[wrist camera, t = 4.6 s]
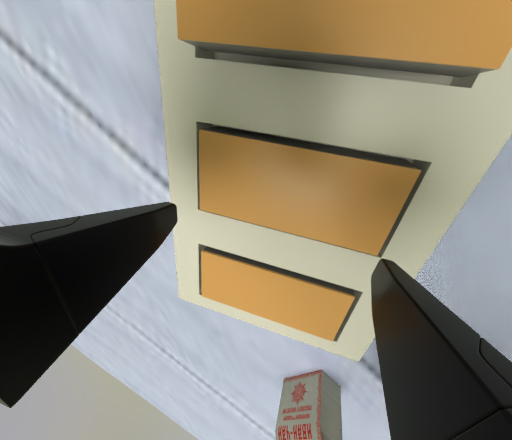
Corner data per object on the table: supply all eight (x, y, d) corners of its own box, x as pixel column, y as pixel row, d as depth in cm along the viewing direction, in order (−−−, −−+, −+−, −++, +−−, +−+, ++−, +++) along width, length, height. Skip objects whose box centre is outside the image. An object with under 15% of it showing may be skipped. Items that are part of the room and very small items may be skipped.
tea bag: (340, 386, 28) (344, 506, 20) (301, 393, 32) (290, 498, 23) (321, 369, 28) (318, 485, 19) (284, 378, 31) (267, 480, 23)
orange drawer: (406, 159, 14) (421, 170, 11) (370, 235, 17) (377, 256, 14) (217, 126, 16) (199, 129, 14) (215, 197, 19) (199, 209, 17)
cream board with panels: (787, -167, 7) (1083, -343, 4) (395, 343, 22) (405, 378, 19) (183, -125, 12) (136, -199, 9) (195, 277, 27) (178, 298, 24)
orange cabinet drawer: (351, 274, 19) (354, 297, 16) (332, 316, 22) (332, 341, 19) (214, 235, 21) (201, 251, 19) (213, 278, 24) (201, 296, 22)
